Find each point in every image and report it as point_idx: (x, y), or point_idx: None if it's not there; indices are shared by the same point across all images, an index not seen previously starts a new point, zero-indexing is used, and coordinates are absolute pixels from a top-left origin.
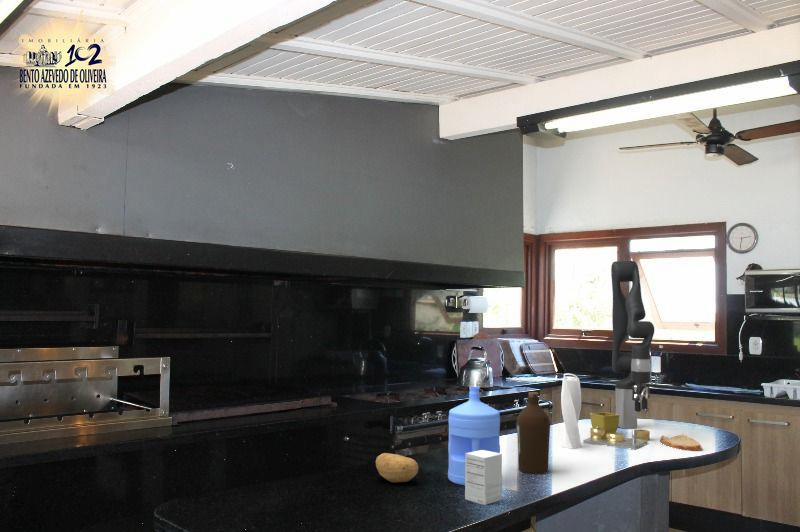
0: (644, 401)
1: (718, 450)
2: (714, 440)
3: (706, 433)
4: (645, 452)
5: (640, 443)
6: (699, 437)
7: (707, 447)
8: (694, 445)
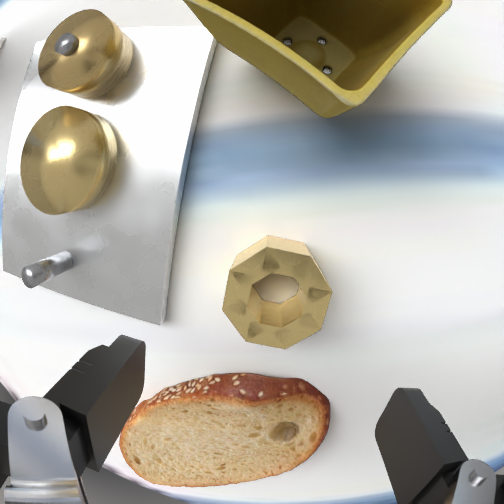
0: (413, 480)
1: (190, 500)
2: (377, 493)
3: (493, 447)
4: (3, 306)
5: (62, 292)
6: None
7: (224, 490)
8: (137, 468)
